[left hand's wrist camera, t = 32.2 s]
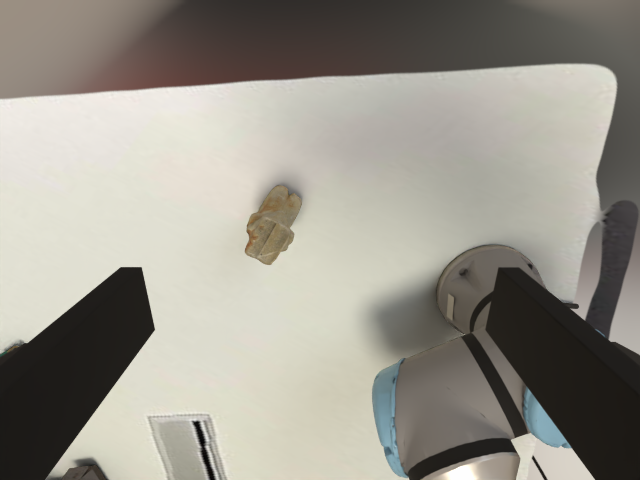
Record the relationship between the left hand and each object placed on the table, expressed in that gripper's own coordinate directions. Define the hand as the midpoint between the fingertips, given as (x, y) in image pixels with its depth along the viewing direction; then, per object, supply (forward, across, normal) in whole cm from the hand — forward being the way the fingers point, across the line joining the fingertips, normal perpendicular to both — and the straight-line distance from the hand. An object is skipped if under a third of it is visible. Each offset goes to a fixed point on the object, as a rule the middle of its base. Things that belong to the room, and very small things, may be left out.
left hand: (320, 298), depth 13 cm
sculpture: (+37, -6, -7) cm, 38 cm away
